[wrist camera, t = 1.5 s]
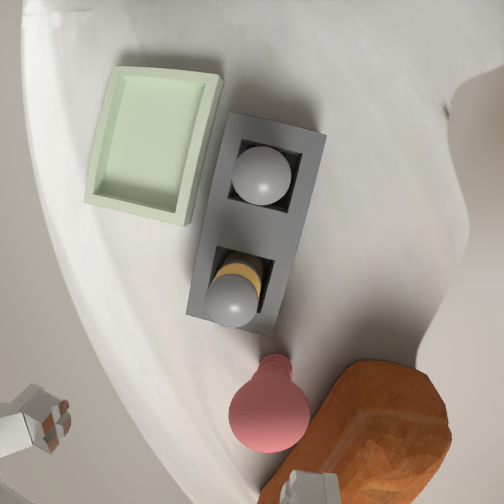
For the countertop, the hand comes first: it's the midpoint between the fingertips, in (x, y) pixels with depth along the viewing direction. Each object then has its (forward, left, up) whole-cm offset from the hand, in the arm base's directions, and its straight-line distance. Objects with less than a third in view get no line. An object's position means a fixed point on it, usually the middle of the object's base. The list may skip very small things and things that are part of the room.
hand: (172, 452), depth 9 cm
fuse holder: (-4, 0, -23) cm, 23 cm away
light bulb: (+10, +5, -23) cm, 26 cm away
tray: (-10, -12, -23) cm, 27 cm away
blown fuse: (0, 0, -23) cm, 23 cm away
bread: (+23, +19, -23) cm, 38 cm away
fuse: (-9, 0, -23) cm, 24 cm away
